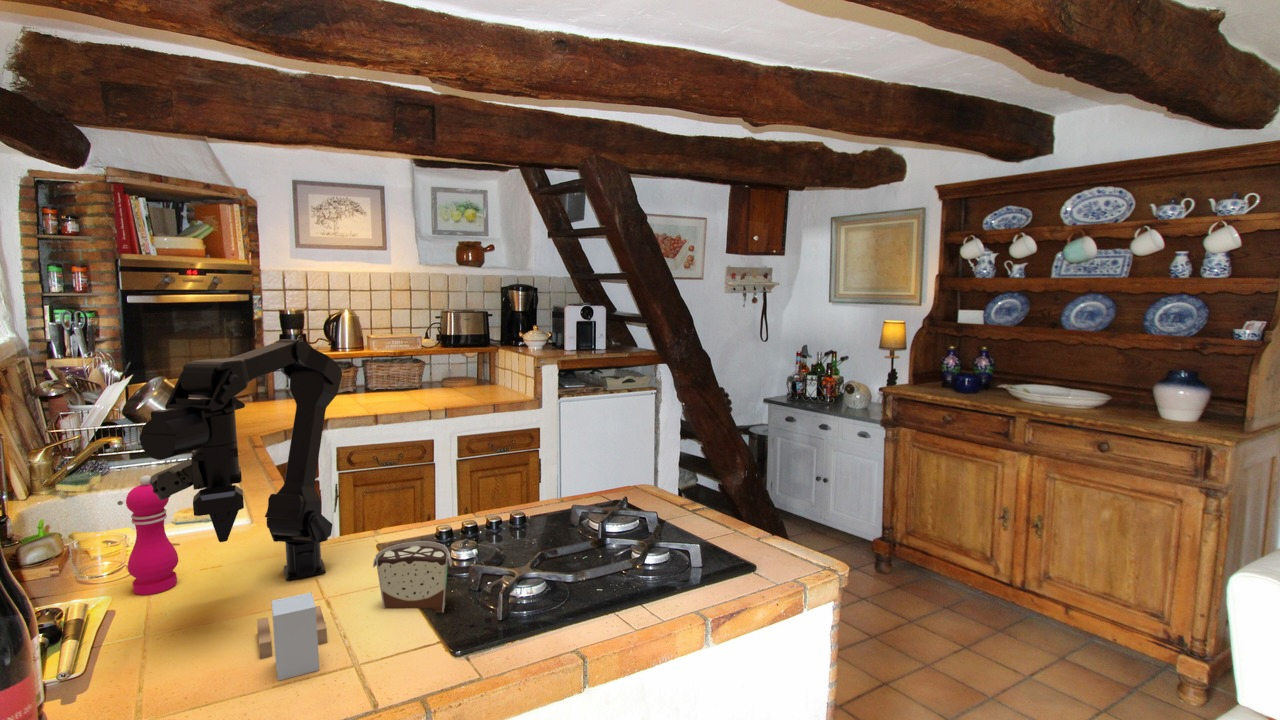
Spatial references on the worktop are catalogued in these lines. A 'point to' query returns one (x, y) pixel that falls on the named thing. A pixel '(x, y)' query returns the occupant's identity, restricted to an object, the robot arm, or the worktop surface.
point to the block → (295, 635)
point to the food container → (413, 575)
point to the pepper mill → (150, 542)
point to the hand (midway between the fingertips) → (223, 541)
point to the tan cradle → (265, 636)
